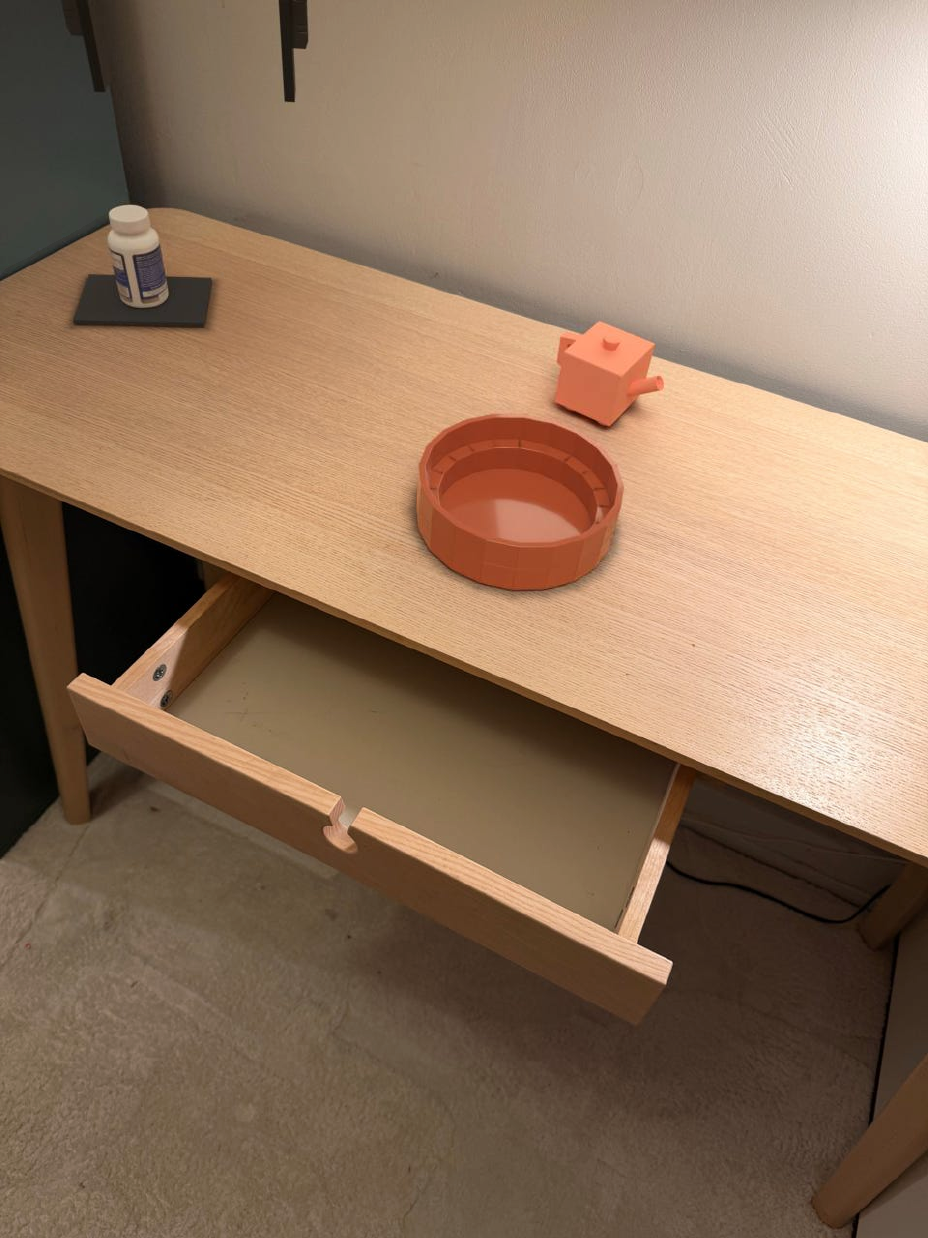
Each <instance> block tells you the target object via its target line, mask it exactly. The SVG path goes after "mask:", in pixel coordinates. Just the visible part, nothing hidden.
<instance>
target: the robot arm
mask: <svg viewBox="0 0 928 1238" xmlns="http://www.w3.org/2000/svg"><path fill="white" fill-rule="evenodd" d="M60 4H61V8H62V12H63V13H62V14H63V17H64V22H65V26H66V28H67V30H68V33H69V34H70V35H71V36H76V37H77V36H78V37H83V42H84V46H85V53H86V56H87V57H86V58H87V61H88V67H89V72H90V76H91V81H92V86H93V91H94V93H106V92H107V90H108V86H109V84H110V82H111V80H112V75H111V71H110V66H109V61H108V54H107V49H106V44H105V39H104V34H103V28H102V23H101V18H100V12H99V7H98V3H97V0H60ZM308 7H309V6H308V0H278V15H279V31H280V33H279V34H280V49H281V65H282V81H283V96H284V97H283V99H284V103H295V102H296V92H297V91H296V89H297V87H296V86H297V85H296V67H295V66H296V65H295V49H296V50H307V47H308V43H309V38H310V37H309V35H310V33H309V12H308V9H309V8H308Z"/></svg>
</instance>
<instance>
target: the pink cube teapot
mask: <svg viewBox="0 0 928 1238" xmlns="http://www.w3.org/2000/svg"><path fill="white" fill-rule="evenodd" d="M558 343H559V344H558V350H557V357H556V364H557V365H558V366H560V369H559V374H558V378H557V385H556V388H555V389H556V390H555V394H554V400H553V402H554V403H556V404H559V405H561V406H563V407H564V408H565V409H566V410H568V411H571V412H576V413H579V414H581V415H583V416H586V417H588V418H590V419H592V420H593V421H594V420H595V421H596V422H597V423H598V424H599V425H601V426H606V427H610V426H611V425H612V424H613V423H614V422H616V420H617V419H618V418H619V417H620V416H621V415H622V414H623V413H624V412H625V411H626V410H627V409H628V408H629V407H630V406H631V405H632V403H634V402H635V401H636V400H637V398H639V397H640V395H645V394H651V393H655V392H659V391H663V390H664V388H665V381H664V379H663V377H662V376H661V375H655V376H651V377H647V376H648V372H649V370H650V369H649V368H650V366H651V361H652V358H653V354H654V351H655V347H656V344H655V342H652V341H650V340H647V339H645V338H642V337H640V336H638V335H635V334H633V333H630V332H627V331H626V330H623V329H621V328H618V327H616V326H613V325H611V324H608V323H605V322H604V321H601V320H599V321H598V322H596V323H595V324H594V325H593V326H591V328H589V329H588V330H586V332H584V333H583V334H579V333H574V332H570V331H565V332H564V333H563V334H562V335H560V336H559V342H558Z"/></svg>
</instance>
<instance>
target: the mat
mask: <svg viewBox="0 0 928 1238" xmlns="http://www.w3.org/2000/svg"><path fill="white" fill-rule="evenodd" d="M166 281H167V286H168V293H169V294H168V298H167V299H166V300H165V301H164V302H163V303H162V304H160V305H158V306H155V307H151V308H135V307H131V306H128V305H126V304H125V303H124V302H123V301H122V300H121V298H120V295H119V291H118V287H117V283H116V278H115V274H101V273H100V274H96V273H88V275H87V278H86V281H85V284H84V286H83V290H82V293H81V295H80V298H79V300H78V301H79V302H78V304H77V307H76V310H75V313H74V315H73V319H72V321H73V322H72V323H73V325H76V326H77V325H78V326H79V325H80V326H81V325H83V326H121V327H123V326H125V327H127V326H128V327H164V328H165V327H169V328H171V327H172V328H205V325H206V320H207V314H208V308H209V303H210V296H211V290H212V284H213V279H212V277H201V276H200V277H199V276H169V275H168V276H166Z"/></svg>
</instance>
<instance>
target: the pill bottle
mask: <svg viewBox="0 0 928 1238" xmlns="http://www.w3.org/2000/svg"><path fill="white" fill-rule="evenodd" d="M108 218H109V225H110V227H111V230H110V231H109V233H108V235H107V246H108V250H109V255H110V260H111V264H112V270H113V273H114V274H113V275H115V278H116V283H117V287H118V291H119V295H120V298H121V300H122V301H123V302H124V303H125V304H126V305H128V306H131V307H135V308H151V307H155V306H158V305H160V304H162V303H163V302H164V301H165V300H166V299H167V298H168V294H169V293H168V286H167V281H166V270H165V265H164V259H163V252H162V247H161V240H160V236H159V234H158V233H157V231H156V230H155V229H154V228H152V227H151V221H150V216H149V212H148V210H147V209H146V208H144V207H143V206H140V205H137V204H124V205H119V206H115V207H114V208H112V209H110V210H109V212H108Z"/></svg>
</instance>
